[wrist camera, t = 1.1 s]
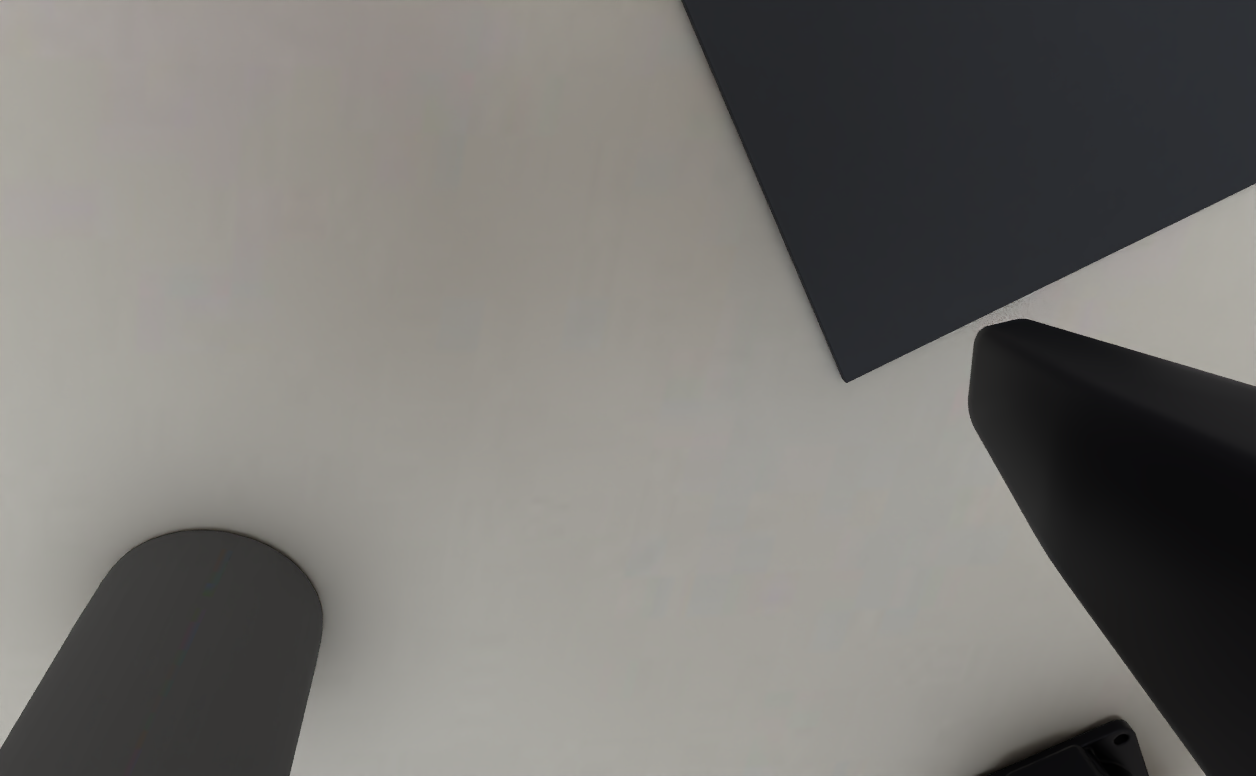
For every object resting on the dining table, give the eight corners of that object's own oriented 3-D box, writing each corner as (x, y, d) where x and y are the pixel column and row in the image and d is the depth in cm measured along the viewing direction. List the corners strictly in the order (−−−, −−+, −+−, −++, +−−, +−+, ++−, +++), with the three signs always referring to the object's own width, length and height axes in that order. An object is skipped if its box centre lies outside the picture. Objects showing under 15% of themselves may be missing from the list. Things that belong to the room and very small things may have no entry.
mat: (1277, 166, 24) (1285, 169, 23) (842, 378, 25) (846, 383, 24) (1180, -504, 17) (1191, -511, 17) (604, -180, 18) (606, -181, 18)
